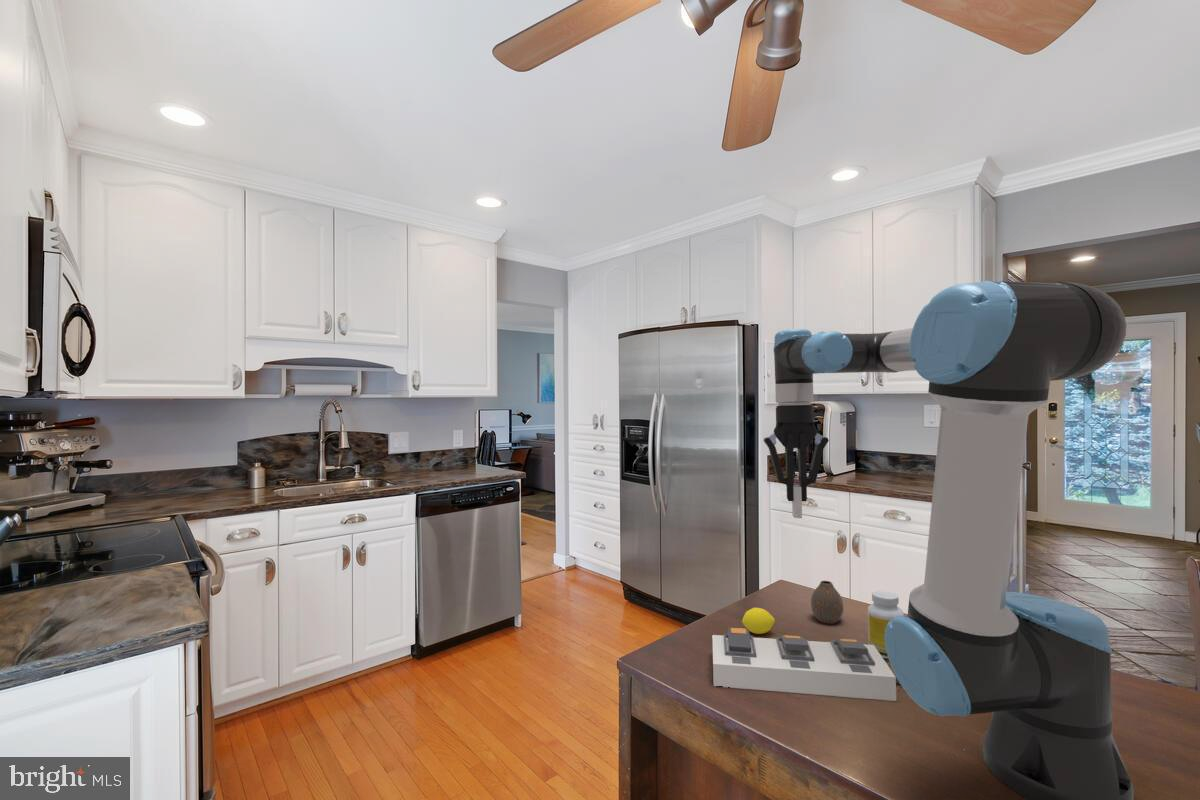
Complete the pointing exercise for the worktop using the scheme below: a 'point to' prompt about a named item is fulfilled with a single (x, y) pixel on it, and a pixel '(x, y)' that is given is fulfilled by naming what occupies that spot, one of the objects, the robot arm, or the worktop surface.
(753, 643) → the rocker switch box
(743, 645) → the rocker
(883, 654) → the pill bottle
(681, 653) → the worktop surface
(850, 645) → the rocker
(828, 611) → the vase
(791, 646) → the dark grey flat block
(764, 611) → the lemon
